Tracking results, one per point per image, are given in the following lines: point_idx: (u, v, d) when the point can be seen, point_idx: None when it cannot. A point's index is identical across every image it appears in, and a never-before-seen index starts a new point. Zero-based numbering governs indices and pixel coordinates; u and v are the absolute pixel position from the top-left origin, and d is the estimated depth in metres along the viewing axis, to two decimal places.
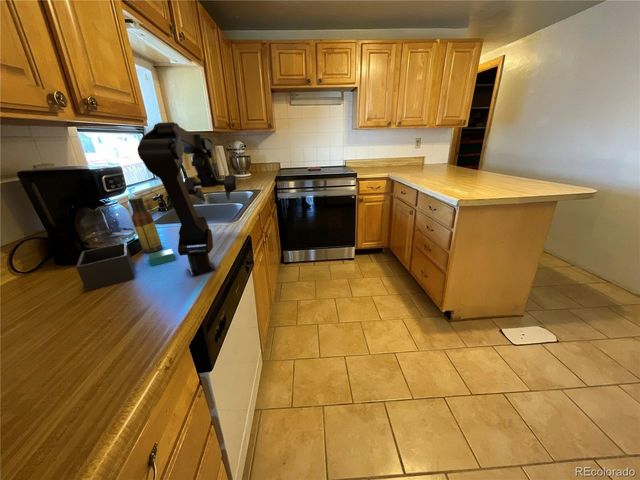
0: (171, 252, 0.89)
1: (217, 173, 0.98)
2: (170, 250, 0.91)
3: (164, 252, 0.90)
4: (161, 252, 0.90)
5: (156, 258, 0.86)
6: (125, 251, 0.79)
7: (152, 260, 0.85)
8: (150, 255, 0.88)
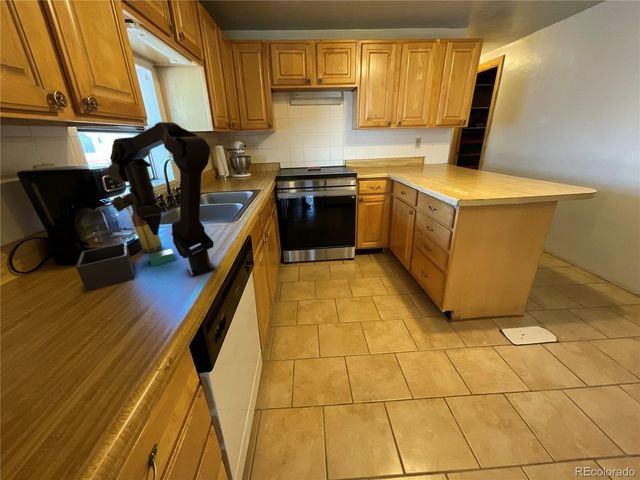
0: (171, 252, 0.89)
1: None
2: (170, 250, 0.91)
3: (164, 252, 0.90)
4: (161, 252, 0.90)
5: (156, 258, 0.86)
6: (125, 251, 0.79)
7: (152, 260, 0.85)
8: (150, 255, 0.88)
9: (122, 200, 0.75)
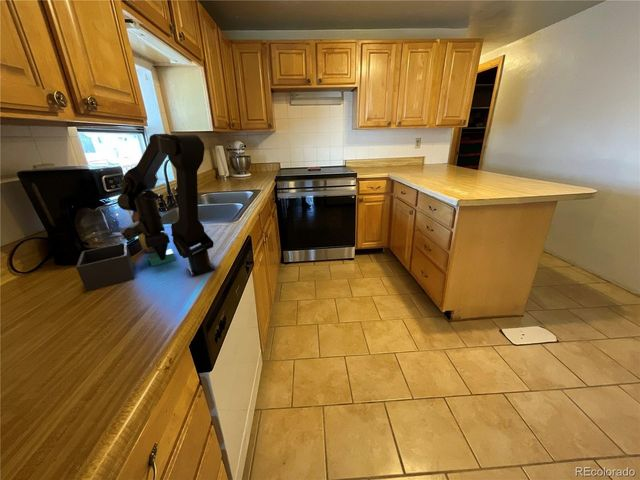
0: (171, 252, 0.89)
1: None
2: (170, 250, 0.91)
3: None
4: None
5: (156, 258, 0.86)
6: (125, 251, 0.79)
7: (152, 260, 0.85)
8: (150, 255, 0.88)
9: (132, 231, 0.79)
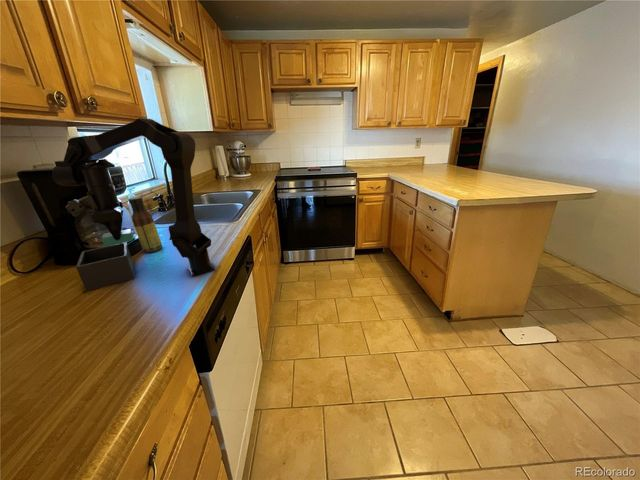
0: (128, 232, 0.80)
1: None
2: (128, 230, 0.81)
3: (121, 231, 0.80)
4: None
5: (110, 238, 0.77)
6: (125, 251, 0.79)
7: (105, 240, 0.76)
8: (104, 234, 0.78)
9: (77, 204, 0.69)
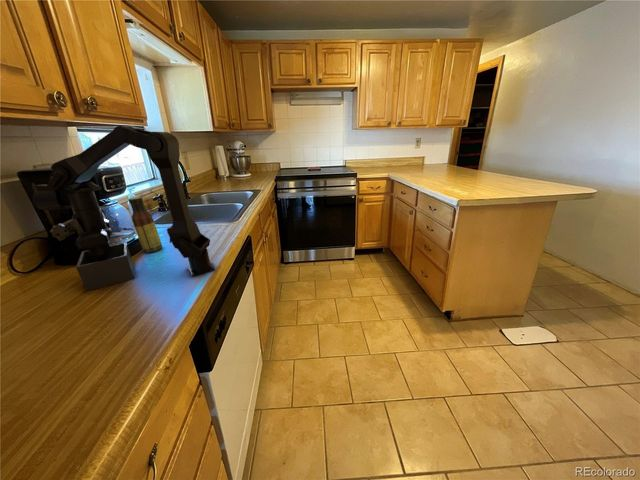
0: None
1: None
2: None
3: None
4: None
5: None
6: (125, 251, 0.79)
7: None
8: None
9: (62, 229, 0.68)
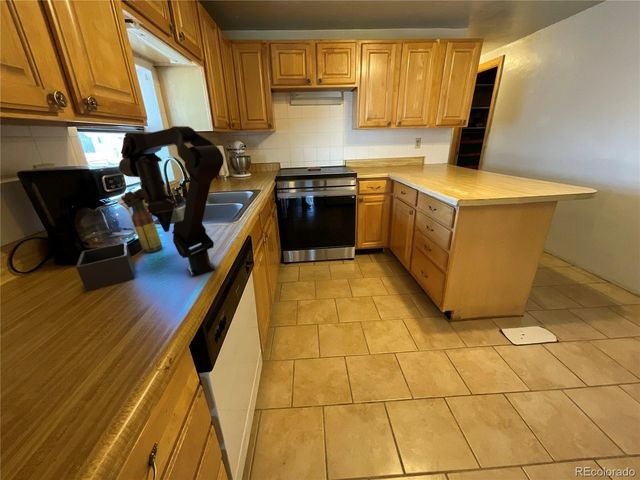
0: None
1: None
2: None
3: None
4: None
5: None
6: (125, 251, 0.79)
7: None
8: None
9: (133, 195, 0.73)
